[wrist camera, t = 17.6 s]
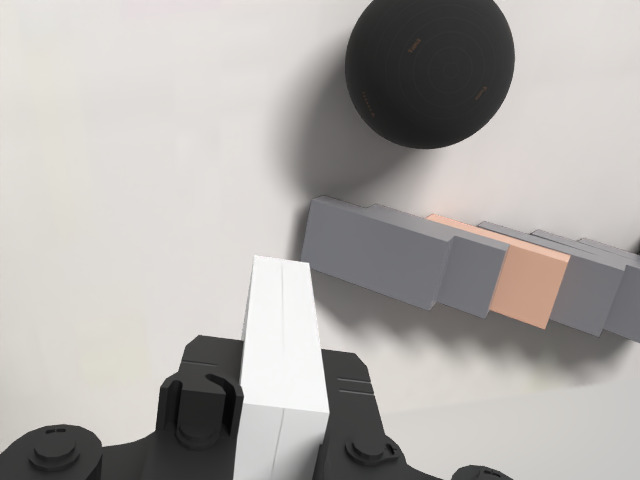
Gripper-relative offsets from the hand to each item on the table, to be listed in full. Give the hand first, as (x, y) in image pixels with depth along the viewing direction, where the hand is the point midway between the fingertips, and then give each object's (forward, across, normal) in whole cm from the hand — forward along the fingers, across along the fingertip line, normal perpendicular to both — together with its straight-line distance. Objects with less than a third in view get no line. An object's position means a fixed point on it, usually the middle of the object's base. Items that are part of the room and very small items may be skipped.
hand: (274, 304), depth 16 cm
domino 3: (+26, +12, -6) cm, 29 cm away
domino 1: (+26, +4, -6) cm, 27 cm away
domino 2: (+26, +8, -6) cm, 27 cm away
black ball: (+27, +8, +7) cm, 29 cm away
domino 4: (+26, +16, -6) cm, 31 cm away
